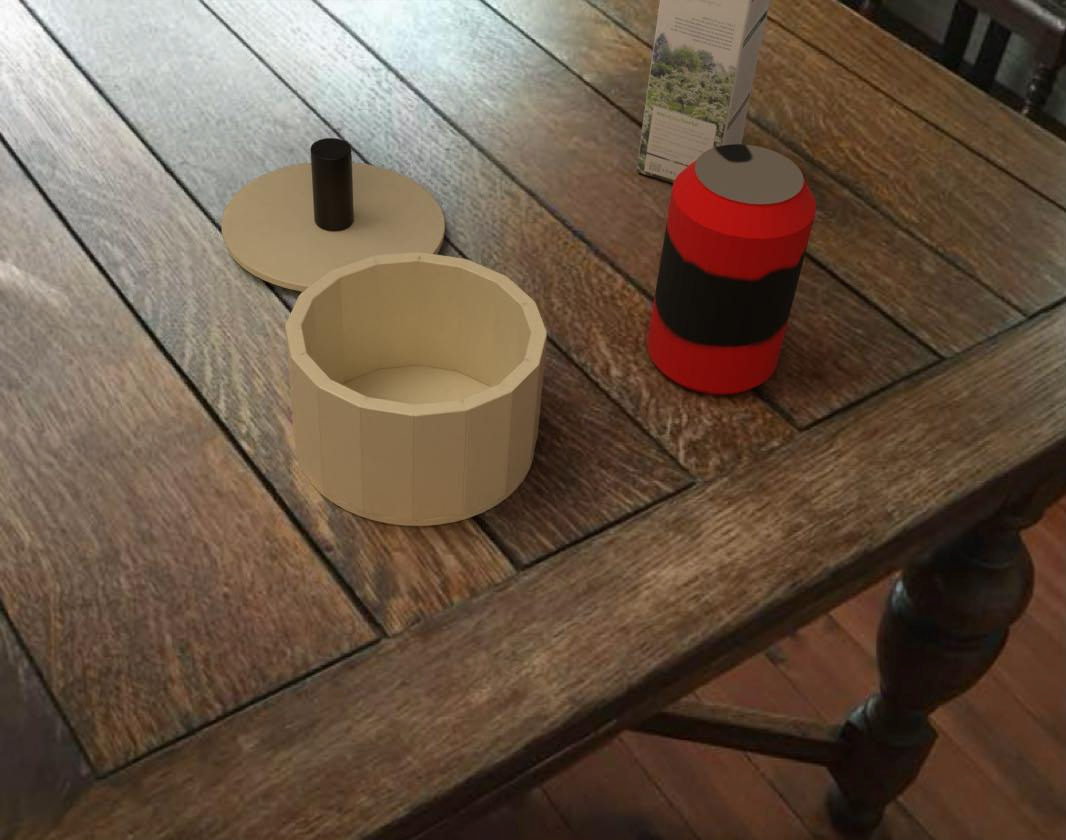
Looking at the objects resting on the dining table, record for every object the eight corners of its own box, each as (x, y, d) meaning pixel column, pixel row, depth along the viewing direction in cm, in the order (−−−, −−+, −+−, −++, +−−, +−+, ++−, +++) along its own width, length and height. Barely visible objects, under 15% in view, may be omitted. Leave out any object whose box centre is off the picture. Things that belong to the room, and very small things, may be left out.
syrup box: (740, 158, 94) (783, -52, 83) (712, 200, 90) (753, -15, 79) (663, 135, 95) (696, -74, 85) (632, 175, 91) (662, -39, 81)
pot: (266, 504, 68) (253, 390, 63) (331, 349, 77) (325, 237, 71) (513, 544, 67) (522, 433, 62) (551, 383, 76) (562, 273, 71)
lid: (192, 283, 80) (179, 193, 76) (260, 162, 89) (252, 76, 85) (418, 318, 79) (419, 229, 75) (463, 192, 89) (466, 107, 84)
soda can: (744, 307, 82) (784, 128, 73) (797, 387, 77) (847, 205, 69) (627, 324, 80) (654, 142, 72) (674, 407, 75) (709, 222, 67)
